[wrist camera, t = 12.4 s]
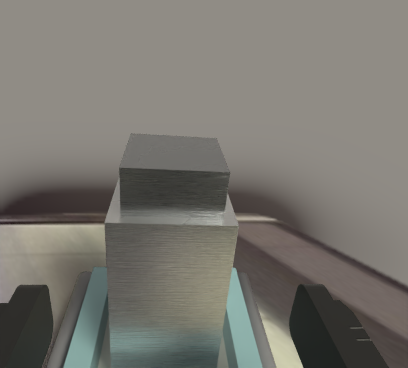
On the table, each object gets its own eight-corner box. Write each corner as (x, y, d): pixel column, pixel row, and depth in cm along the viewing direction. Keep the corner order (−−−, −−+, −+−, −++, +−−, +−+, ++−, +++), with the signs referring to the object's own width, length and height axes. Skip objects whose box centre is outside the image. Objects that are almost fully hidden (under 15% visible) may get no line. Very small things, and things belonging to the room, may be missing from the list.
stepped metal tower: (112, 395, 17) (102, 172, 11) (124, 315, 21) (121, 129, 16) (212, 392, 17) (245, 178, 12) (204, 315, 22) (225, 135, 17)
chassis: (16, 486, 14) (4, 445, 13) (79, 293, 24) (76, 258, 23) (295, 467, 15) (309, 428, 14) (245, 292, 25) (251, 260, 24)
